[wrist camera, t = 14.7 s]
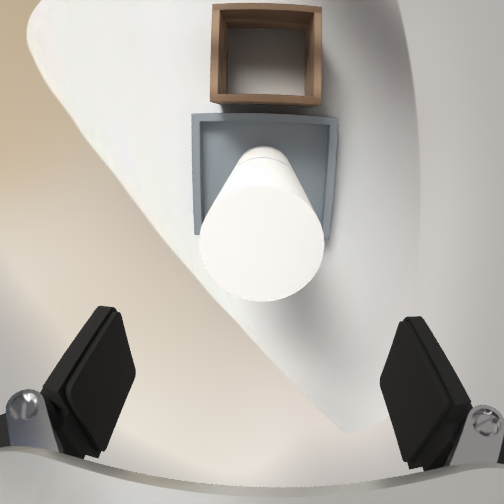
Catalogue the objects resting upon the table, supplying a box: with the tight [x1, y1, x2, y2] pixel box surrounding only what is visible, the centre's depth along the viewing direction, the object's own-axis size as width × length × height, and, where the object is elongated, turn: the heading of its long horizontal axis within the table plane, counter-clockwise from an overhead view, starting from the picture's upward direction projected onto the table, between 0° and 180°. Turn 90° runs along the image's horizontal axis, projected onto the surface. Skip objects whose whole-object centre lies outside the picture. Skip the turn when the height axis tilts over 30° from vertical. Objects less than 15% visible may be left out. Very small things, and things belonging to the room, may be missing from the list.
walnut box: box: [210, 3, 322, 107], centre depth 32 cm, size 12×12×8 cm
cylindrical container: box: [199, 146, 324, 302], centre depth 30 cm, size 7×7×25 cm
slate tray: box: [192, 113, 338, 239], centre depth 41 cm, size 16×18×2 cm
